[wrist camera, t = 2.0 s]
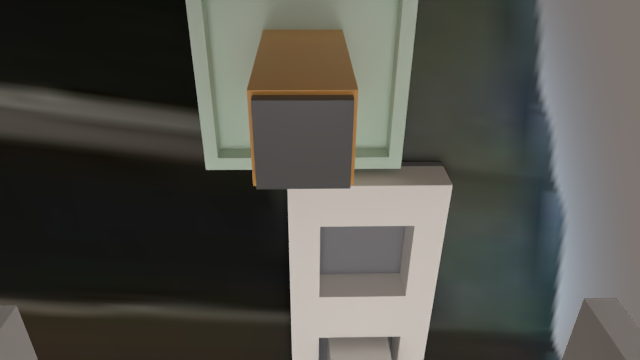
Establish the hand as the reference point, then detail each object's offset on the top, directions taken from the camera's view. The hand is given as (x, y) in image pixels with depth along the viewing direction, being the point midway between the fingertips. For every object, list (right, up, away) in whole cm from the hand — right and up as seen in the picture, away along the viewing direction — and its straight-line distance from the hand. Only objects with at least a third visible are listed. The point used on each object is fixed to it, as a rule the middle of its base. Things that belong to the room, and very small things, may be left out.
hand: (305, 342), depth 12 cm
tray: (-1, +11, +17) cm, 21 cm away
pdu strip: (+3, -4, +26) cm, 27 cm away
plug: (-1, +10, +17) cm, 20 cm away
